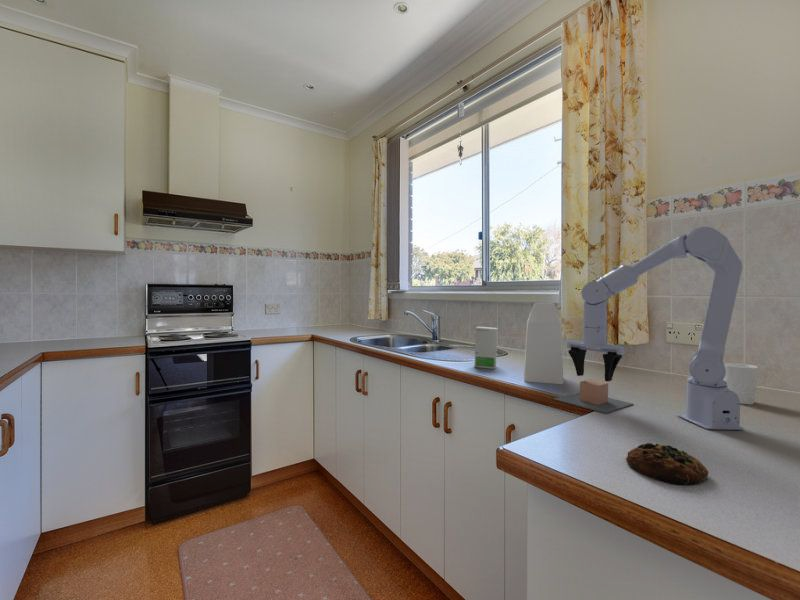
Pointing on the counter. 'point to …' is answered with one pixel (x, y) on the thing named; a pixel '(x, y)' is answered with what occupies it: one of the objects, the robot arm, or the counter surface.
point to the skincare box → (486, 347)
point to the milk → (543, 345)
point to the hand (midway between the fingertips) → (593, 378)
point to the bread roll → (667, 464)
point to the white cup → (742, 381)
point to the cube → (594, 391)
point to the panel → (603, 408)
